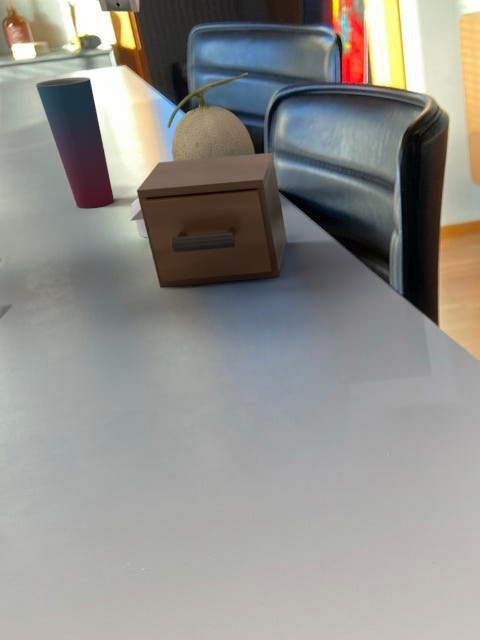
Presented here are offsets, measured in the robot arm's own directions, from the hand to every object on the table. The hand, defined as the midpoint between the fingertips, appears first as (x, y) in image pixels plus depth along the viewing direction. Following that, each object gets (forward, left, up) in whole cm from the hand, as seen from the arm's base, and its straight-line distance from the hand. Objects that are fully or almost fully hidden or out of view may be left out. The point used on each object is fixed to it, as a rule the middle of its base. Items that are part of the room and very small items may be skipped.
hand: (121, 6), depth 84 cm
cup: (-21, +53, -26) cm, 63 cm away
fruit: (-3, +47, -26) cm, 54 cm away
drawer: (+1, +14, -25) cm, 28 cm away
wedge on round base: (-7, +33, -26) cm, 43 cm away
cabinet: (+1, +17, -26) cm, 31 cm away
